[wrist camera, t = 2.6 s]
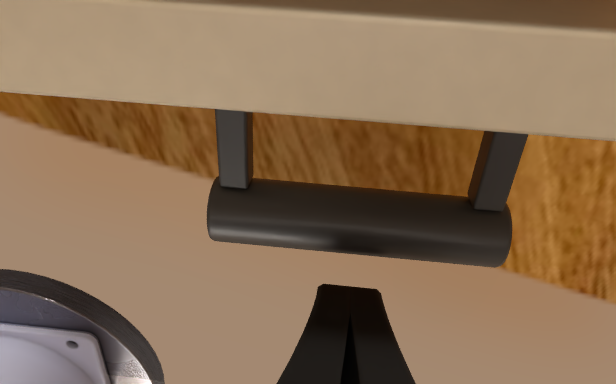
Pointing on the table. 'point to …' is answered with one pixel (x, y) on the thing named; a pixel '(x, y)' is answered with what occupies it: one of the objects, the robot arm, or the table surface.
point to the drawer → (338, 97)
